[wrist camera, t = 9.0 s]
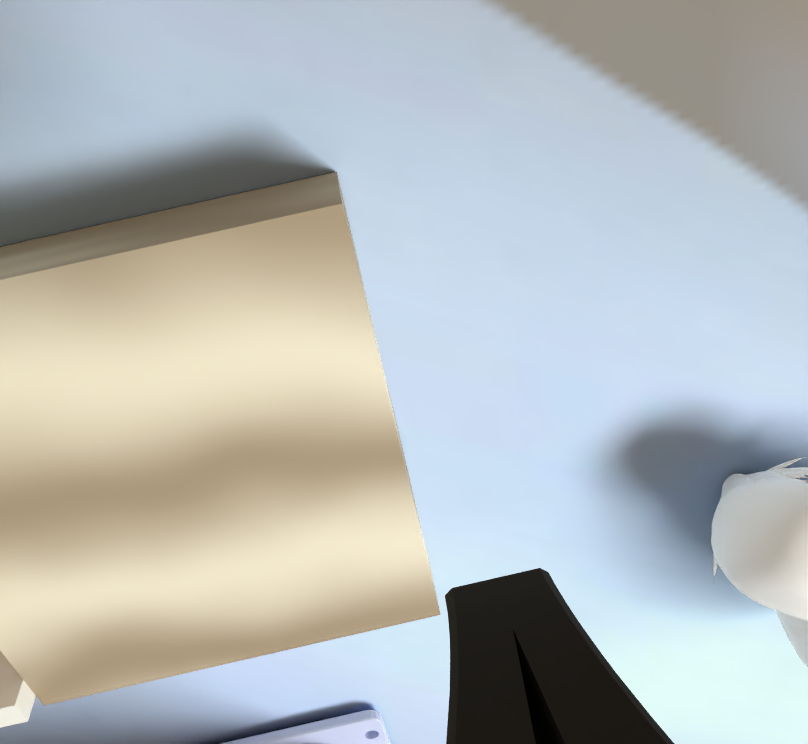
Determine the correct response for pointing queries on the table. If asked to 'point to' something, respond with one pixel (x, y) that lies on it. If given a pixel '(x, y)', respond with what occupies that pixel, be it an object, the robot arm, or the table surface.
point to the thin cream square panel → (196, 445)
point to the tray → (13, 695)
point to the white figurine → (767, 543)
